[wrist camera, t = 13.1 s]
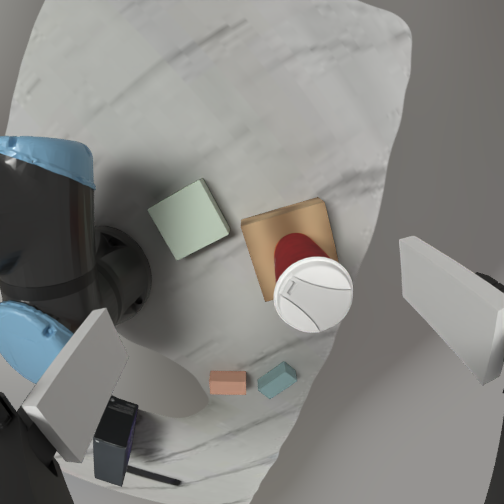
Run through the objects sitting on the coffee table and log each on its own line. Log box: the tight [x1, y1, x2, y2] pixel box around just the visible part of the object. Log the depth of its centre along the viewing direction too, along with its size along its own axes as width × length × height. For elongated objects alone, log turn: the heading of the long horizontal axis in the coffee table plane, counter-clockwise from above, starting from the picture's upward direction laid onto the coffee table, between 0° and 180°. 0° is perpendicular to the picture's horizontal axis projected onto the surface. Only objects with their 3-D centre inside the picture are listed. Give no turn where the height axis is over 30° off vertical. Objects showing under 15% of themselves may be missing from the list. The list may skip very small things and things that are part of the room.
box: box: [93, 396, 138, 487], centre depth 52 cm, size 17×7×12 cm, turn 161°
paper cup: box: [274, 233, 353, 333], centre depth 36 cm, size 8×8×14 cm
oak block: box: [241, 197, 339, 302], centre depth 44 cm, size 11×11×4 cm
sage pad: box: [147, 178, 230, 261], centre depth 43 cm, size 8×8×3 cm
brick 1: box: [209, 371, 246, 395], centre depth 52 cm, size 6×3×3 cm, turn 90°
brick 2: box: [258, 362, 297, 399], centre depth 52 cm, size 6×3×3 cm, turn 133°
